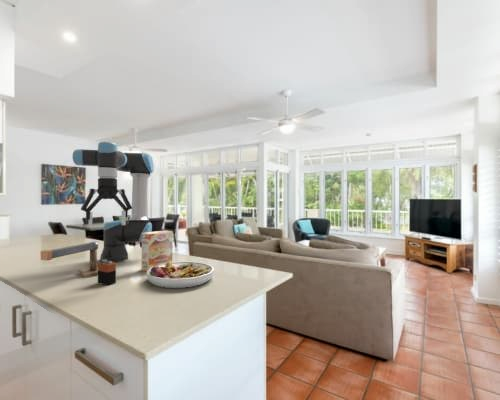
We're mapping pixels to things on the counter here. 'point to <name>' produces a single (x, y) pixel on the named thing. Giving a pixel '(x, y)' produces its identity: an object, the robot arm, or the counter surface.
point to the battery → (106, 272)
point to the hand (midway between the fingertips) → (107, 226)
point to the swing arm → (68, 250)
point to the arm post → (91, 265)
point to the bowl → (180, 274)
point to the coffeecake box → (156, 248)
